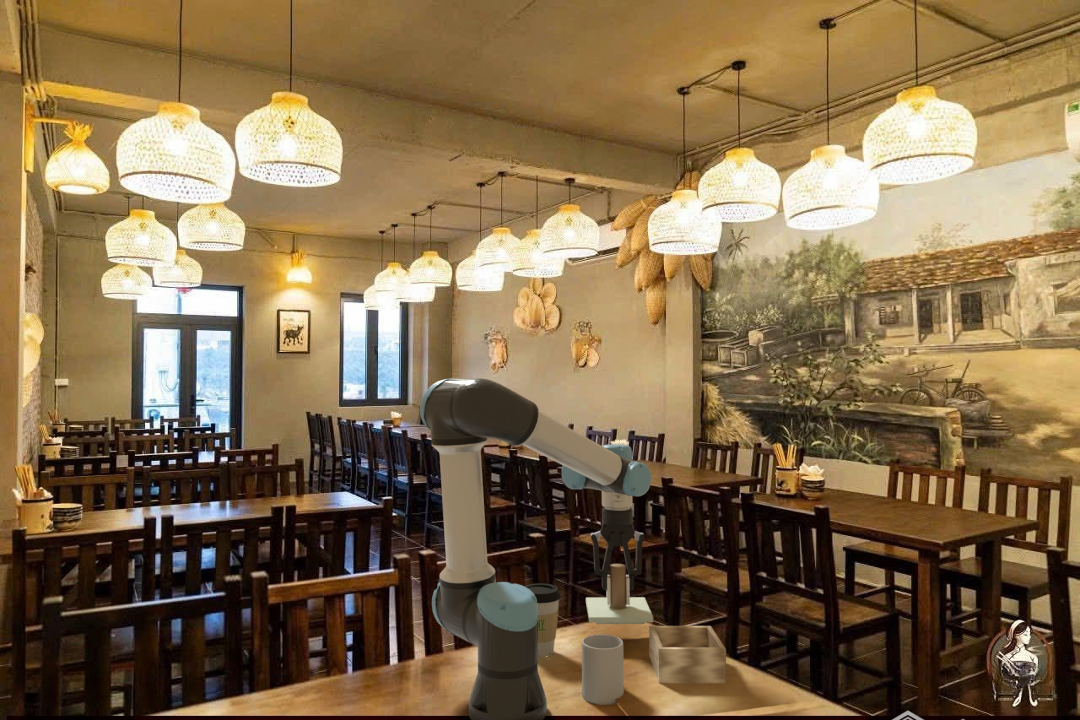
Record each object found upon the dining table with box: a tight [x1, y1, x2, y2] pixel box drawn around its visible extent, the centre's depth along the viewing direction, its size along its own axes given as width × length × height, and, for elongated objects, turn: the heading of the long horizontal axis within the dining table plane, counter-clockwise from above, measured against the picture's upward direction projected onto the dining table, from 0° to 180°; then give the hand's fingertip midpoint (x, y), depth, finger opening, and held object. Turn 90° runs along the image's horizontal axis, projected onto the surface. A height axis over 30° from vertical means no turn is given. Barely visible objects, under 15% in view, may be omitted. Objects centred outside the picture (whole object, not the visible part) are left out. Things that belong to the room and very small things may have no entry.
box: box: [648, 625, 727, 684], centre depth 156 cm, size 14×14×8 cm
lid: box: [585, 563, 654, 625], centre depth 175 cm, size 15×15×12 cm
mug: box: [581, 633, 625, 706], centre depth 147 cm, size 12×8×11 cm
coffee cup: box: [523, 582, 562, 658], centre depth 168 cm, size 10×10×15 cm
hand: (618, 602), depth 175 cm, fingers closed on lid, 4 cm apart
